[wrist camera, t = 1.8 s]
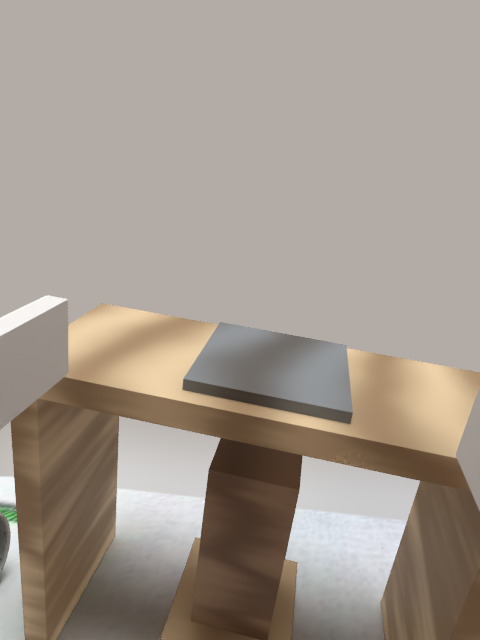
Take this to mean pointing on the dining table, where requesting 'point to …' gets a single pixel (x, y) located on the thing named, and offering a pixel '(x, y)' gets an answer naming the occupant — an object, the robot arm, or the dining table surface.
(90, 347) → the wooden side table
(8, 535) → the ceramic mug
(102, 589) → the dining table surface
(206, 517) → the walnut block
